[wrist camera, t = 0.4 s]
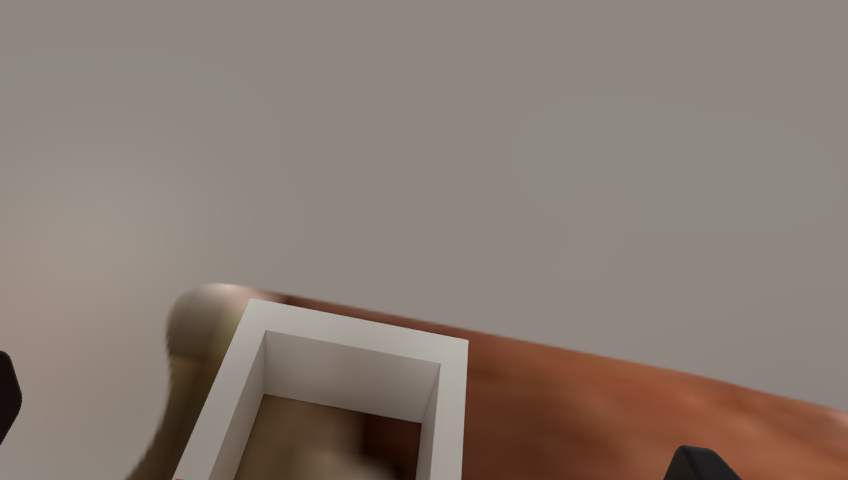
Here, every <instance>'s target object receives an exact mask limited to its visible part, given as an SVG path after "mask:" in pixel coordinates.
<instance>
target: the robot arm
mask: <svg viewBox="0 0 848 480" xmlns="http://www.w3.org/2000/svg"><path fill="white" fill-rule="evenodd" d="M21 403H22V394H21V390H20V387H19V384H18V380H17V377H16V374H15V371H14V367H13V364H12V361H11V359H10V356H9V355H8V354H7V353H5V352H3V351H0V445H1V443H2V442H3V440H4V438H5V436H6V435H7V433H8V431H9V429H10V428H11V426H12V424H13V422H14V421H15V419H16V417H17V415H18V413H19V410H20V407H21ZM663 480H742V479H741V478H740V477H739V476H738V475H737V474H736V473H735V472H734V471H733V470H732V469H731V468H730V467H729V466H728V465H727V463H726V462H725V461H724V460H723V459H722V458H721V457H720V456H719V455H718V454H717V453H716V452H714V451H713V450H711V449H708V448H701V447H694V446H686V445H684V446H680V447H679V448H678V449H677V450H676V452H675V453H674V456H673V458H672V460H671V463H670V465H669V467H668V470H667V472H666V475H665V477H664V479H663Z"/></svg>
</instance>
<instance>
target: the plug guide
mask: <svg viewBox="0 0 848 480" xmlns="http://www.w3.org/2000/svg"><path fill="white" fill-rule="evenodd" d="M467 358H468V340H465V339H460V338H455V337H450V336H444V335H439V334H434V333H429V332H424V331H419V330H414V329H408V328H403V327H398V326H393V325H388V324H383V323H378V322H372V321H367V320H362V319H357V318H352V317H347V316H342V315H337V314H331V313H326V312H321V311H316V310H311V309H306V308H301V307H295V306H290V305H285V304H280V303H275V302H270V301H265V300H259V299H254V298H250V300H249V302H248V304H247V307H246V309H245V311H244V314H243V316H242V318H241V321H240V323H239V325H238V328H237V330H236V332H235V335H234V337H233V339H232V342H231V344H230V346H229V348H228V351H227V353H226V355H225V358H224V360H223V362H222V365H221V367H220V369H219V372H218V374H217V376H216V379H215V381H214V383H213V386H212V388H211V390H210V393H209V395H208V397H207V400H206V402H205V404H204V406H203V409H202V411H201V413H200V416H199V418H198V420H197V423H196V425H195V427H194V430H193V432H192V434H191V437H190V439H189V441H188V444H187V446H186V448H185V451H184V453H183V455H182V458H181V460H180V462H179V464H178V467H177V469H176V471H175V474H174V476H173V478H172V480H175V479H176V478H177V479H183V480H234V478H235V475H236V472H237V469H238V467H239V464H240V461H241V458H242V455H243V452H244V449H245V447H246V444H247V441H248V438H249V435H250V432H251V429H252V427H253V424H254V421H255V418H256V415H257V412H258V409H259V407H260V404H261V401H262V398H263V395H264V394H268V395H274V396H279V397H284V398H290V399H295V400H300V401H305V402H311V403H316V404H321V405H327V406H332V407H337V408H343V409H348V410H353V411H359V412H364V413H369V414H375V415H380V416H385V417H391V418H396V419H401V420H406V421H412V422H417V423H422V427H421V436H420V445H419V454H418V462H417V471H416V480H461V472H462V453H463V434H464V415H465V396H466V377H467Z"/></svg>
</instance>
